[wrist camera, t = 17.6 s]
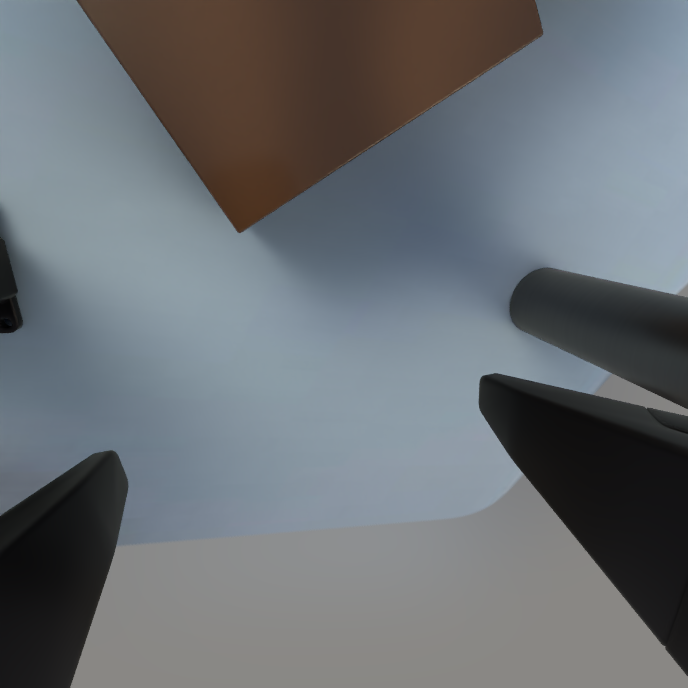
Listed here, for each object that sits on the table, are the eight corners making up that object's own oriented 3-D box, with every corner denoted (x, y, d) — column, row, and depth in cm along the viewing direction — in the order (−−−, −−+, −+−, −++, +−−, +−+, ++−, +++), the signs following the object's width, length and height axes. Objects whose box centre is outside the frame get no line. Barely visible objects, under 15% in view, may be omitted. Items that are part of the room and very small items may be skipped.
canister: (505, 338, 25) (718, 453, 14) (510, 271, 23) (758, 335, 12) (564, 327, 26) (814, 427, 14) (573, 261, 24) (865, 313, 13)
